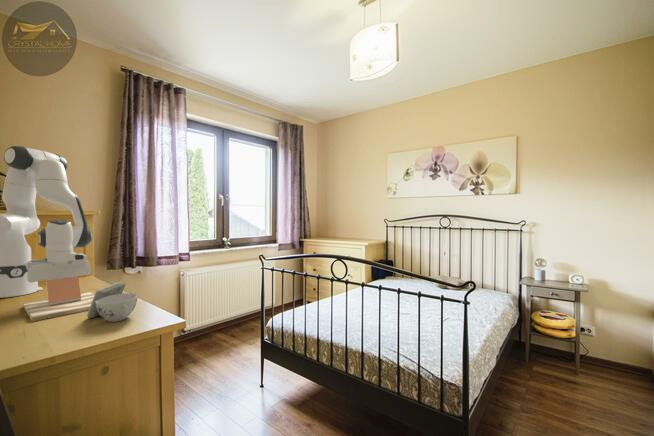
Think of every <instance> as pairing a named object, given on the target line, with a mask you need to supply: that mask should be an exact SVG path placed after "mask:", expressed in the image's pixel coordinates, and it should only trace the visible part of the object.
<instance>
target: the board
mask: <svg viewBox="0 0 654 436" xmlns="http://www.w3.org/2000/svg"><path fill="white" fill-rule="evenodd" d="M80 294H81V300H78V301H73V302H67V303H62V304H56V305H51V306H49V304H48V298H47V299H42V300H41V299H40V300H35V301H30V302H24V303H22V304H23V309H24V310H25V312H26V314H27V316H28V317H29V318H30V320H31V322H32V323H33V322H37V320H38V321H43V320H48V319H53V318H57V317H61V316H62V317H63V316H66V315H71V314H77V313H80V312H86V311H87V312H88V311H89V308H90V306H91V303H92V301H93V298H94V295H95V293H92V292H91V291H89V292H84V293H83V292H82V293H80ZM52 317H53V318H52ZM47 318H48V319H47ZM42 319H43V320H42Z"/></svg>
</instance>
